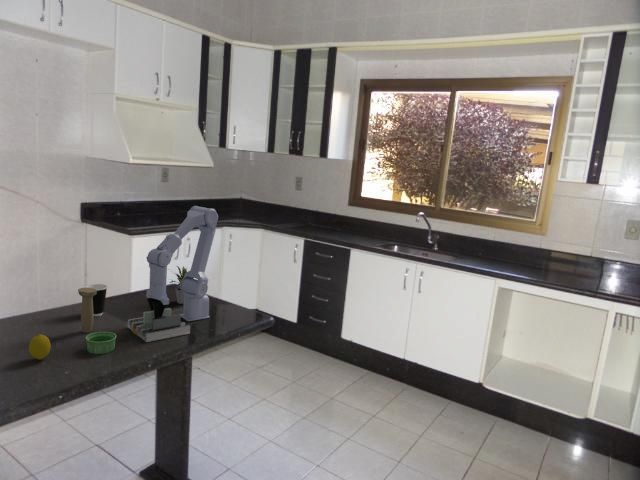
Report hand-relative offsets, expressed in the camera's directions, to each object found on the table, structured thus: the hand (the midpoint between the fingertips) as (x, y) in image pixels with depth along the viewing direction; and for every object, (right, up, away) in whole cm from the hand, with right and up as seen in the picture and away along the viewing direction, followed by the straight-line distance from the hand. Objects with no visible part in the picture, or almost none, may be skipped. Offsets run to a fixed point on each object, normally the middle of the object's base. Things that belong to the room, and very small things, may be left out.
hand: (156, 318), depth 170 cm
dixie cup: (-27, 0, +10) cm, 28 cm away
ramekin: (-11, -7, -20) cm, 24 cm away
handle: (-22, -4, -7) cm, 23 cm away
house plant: (-1, +1, +34) cm, 34 cm away
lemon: (-24, -7, -31) cm, 40 cm away
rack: (+1, -4, -1) cm, 4 cm away
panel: (0, -3, +1) cm, 3 cm away
